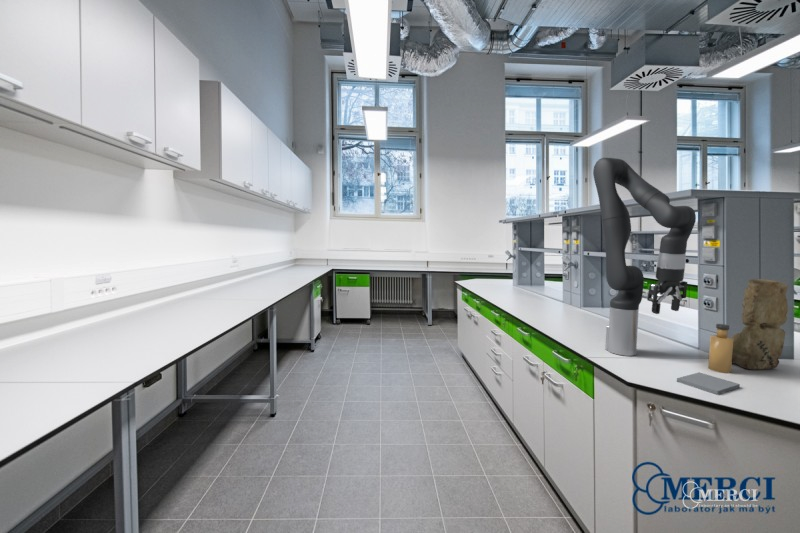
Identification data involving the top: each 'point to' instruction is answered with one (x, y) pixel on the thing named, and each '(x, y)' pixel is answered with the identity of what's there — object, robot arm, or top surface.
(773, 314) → the sculpture
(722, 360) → the bottle
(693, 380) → the mat
